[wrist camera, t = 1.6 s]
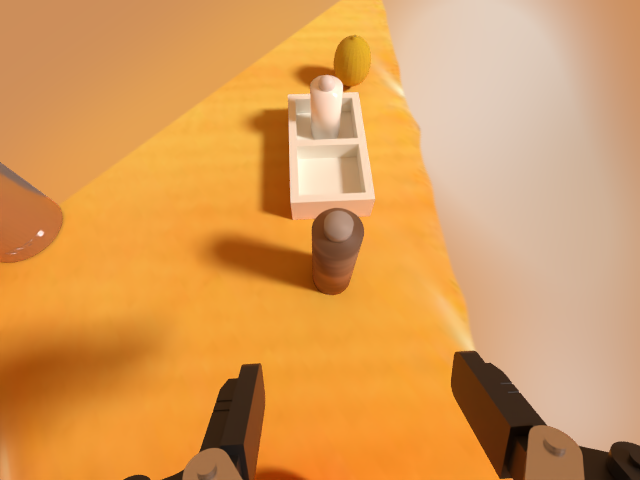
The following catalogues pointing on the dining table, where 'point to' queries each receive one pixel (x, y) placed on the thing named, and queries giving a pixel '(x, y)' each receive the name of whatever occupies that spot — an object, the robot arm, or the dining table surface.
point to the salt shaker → (325, 106)
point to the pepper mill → (335, 249)
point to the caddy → (328, 162)
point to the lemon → (352, 60)
